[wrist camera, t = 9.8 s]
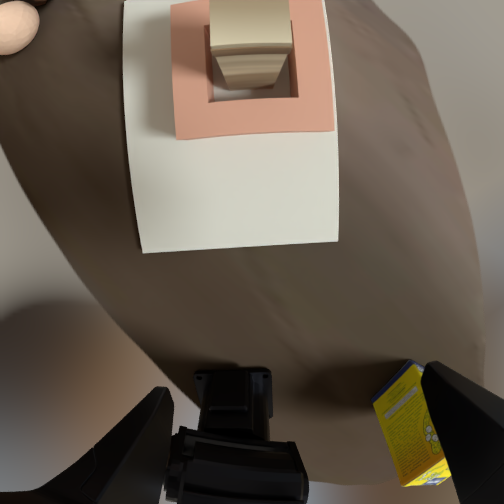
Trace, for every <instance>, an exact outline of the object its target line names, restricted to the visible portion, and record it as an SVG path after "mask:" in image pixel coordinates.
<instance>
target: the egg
mask: <svg viewBox="0 0 504 504" xmlns="http://www.w3.org/2000/svg"><path fill="white" fill-rule="evenodd" d="M38 27H39V15H38V12H37V10H36V9H35V7H34V6H32V5H31V4H29V3H27V2H24V1H11V2H7V3H4V4H1V5H0V55H9V54H13V53H16V52H18V51H20V50H22V49H23V48H24V47H26V46H27V45H28V44H29V43H30V42H31V41H32V40H33V38H34V37H35V35H36V33H37V31H38Z"/></svg>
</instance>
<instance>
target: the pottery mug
mask: <svg viewBox="0 0 504 504" xmlns="http://www.w3.org/2000/svg"><path fill="white" fill-rule="evenodd" d="M18 1H24V2H27V3H29V4H31V5H32V6H39V5H43V4H45V3H46V2H47V0H18Z"/></svg>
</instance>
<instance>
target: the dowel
mask: <svg viewBox="0 0 504 504" xmlns="http://www.w3.org/2000/svg"><path fill="white" fill-rule="evenodd" d="M209 10H210V49H211V53H212V55H213V57H216V59H217V62H218V64H219V66H220V68H221V71H222V73H223V75H224V78H225V80H226V82H227V85H228V87H229V89H230V91H235V90H256V89H273V87H274V85H275V82H276V80H277V77H278V75H279V73H280V70H281V68H282V66H283V63H284V61H285V59H286V56H287V54H290V52H291V50H292V32H291V21H290V10H289V0H209Z"/></svg>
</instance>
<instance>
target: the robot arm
mask: <svg viewBox="0 0 504 504" xmlns="http://www.w3.org/2000/svg"><path fill="white" fill-rule="evenodd" d="M264 374H267V375H264ZM198 376H201V377H198ZM193 378H194V382H195V386H196V390H197V393H198V397H199V401H200V404H201V410H200V416H199V423H198V429H197V430H193V429H187V427H184V426H180V428H179V432H178V433H176V434H175V435H173V436H172V425H173V414H174V402H173V400H172V397H171V394H170V391H169V389H168V388H167V387H158V386H157V387H155V388H154V389H153V390H152V391H151V392H150V393H149V394H148V395H147V396H146V397H145V398H144V399H143V400H141V401H140V402H139V403H138V404H137V405H136V406H135V407H134V408H133V409H132V410H131V411H130V412H129V413H128V414H127V415H126V416H125V417H124V418H123V419H122V420H121V421H120V422H119V423H118V424H117V425H116V426H114V427H113V428H112V429H111V430H110V431H109V432H108V433H107V434H106V435H105V436H104V437H103V438H102V439H101V440H100V441H99V442H98V443H96V444H95V445H94V448H91V449H90V450H89V451H88V452H87V453H86V454H84V455H83V456H82V457H81V458H80V459H79V460H78V461H76V462H75V463H74V464H72V465H71V466H70V467H68V468H67V469H66V470H64V471H63V472H62V473H60V474H59V475H57V476H56V477H54V478H53V479H52V480H50V481H49V482H47V483H46V484H44V485H43V486H41V487H39V488H37V489H34V490H30V491H16V492H0V504H159V499H160V494H161V489H162V484H163V485H164V491H166V501H171V502H177V504H306V503H307V500H308V493H309V481H308V476H307V473H306V470H305V468H304V465H303V462H302V460H301V457H300V454H299V452H298V449H297V446H296V444H295V442H291V441H287V442H276V441H270V430H269V419H270V418H272V417H273V403H272V375H271V371H270V370H269V369H252V370H221V371H196V372H195V373H194V376H193ZM420 383H421V387H422V391H423V394H424V398H425V401H426V405H427V408H428V412H429V415H430V418H431V421H432V424H433V426H434V429H435V431H436V434H437V437H438V439H439V442H440V445H441V447H442V450H443V453H444V456H445V459H446V461H447V464H448V467H449V470H450V473H451V476H452V479H453V482H454V486H455V489H456V492H457V495H458V499H459V502H460V504H504V399H502V398H500V397H499V396H497V395H495V394H493V393H492V392H490V391H488V390H487V389H485V388H483V387H481V386H480V385H478V384H476V383H475V382H473V381H471V380H469V379H468V378H466V377H464V376H463V375H461V374H459V373H457V372H456V371H454V370H452V369H451V368H449V367H447V366H445V365H444V364H442V363H440V362H439V361H432V362H428V363H427V364H426V366H425V368H424V371H423V374H422V377H421V381H420Z"/></svg>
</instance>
